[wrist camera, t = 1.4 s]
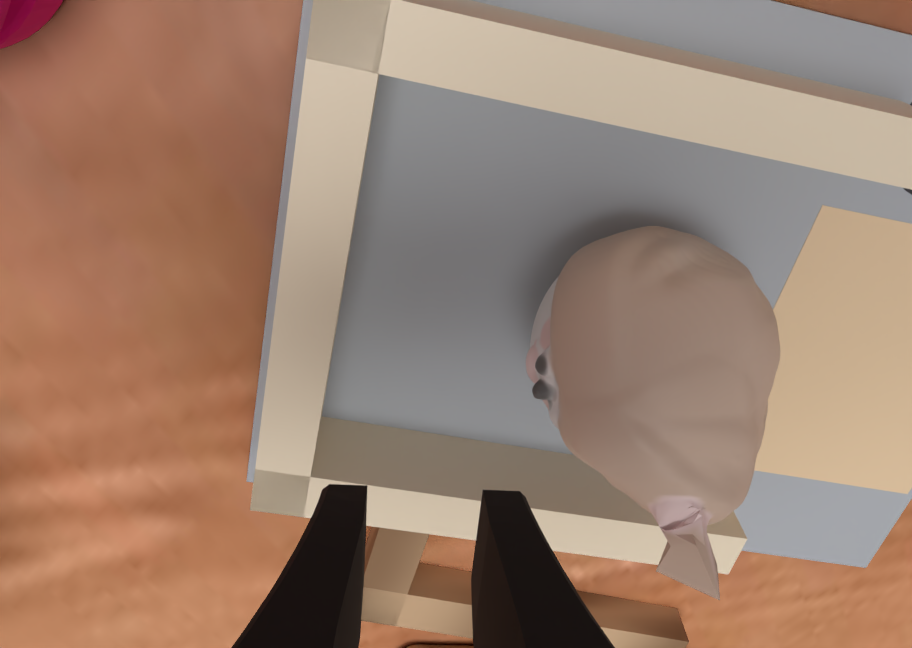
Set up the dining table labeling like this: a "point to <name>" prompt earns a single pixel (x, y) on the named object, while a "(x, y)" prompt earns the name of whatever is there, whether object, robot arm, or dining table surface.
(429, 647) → the straight stick
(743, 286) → the garlic bulb
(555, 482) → the cubby board
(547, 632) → the robot arm
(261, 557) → the dining table surface
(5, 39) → the pepper mill
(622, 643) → the crook tool
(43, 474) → the dining table surface
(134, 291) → the dining table surface
